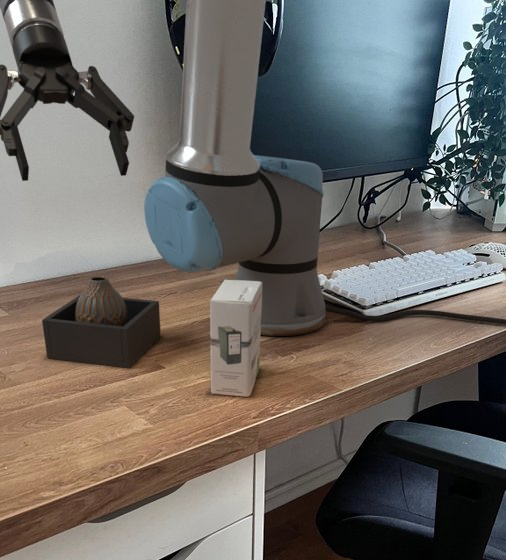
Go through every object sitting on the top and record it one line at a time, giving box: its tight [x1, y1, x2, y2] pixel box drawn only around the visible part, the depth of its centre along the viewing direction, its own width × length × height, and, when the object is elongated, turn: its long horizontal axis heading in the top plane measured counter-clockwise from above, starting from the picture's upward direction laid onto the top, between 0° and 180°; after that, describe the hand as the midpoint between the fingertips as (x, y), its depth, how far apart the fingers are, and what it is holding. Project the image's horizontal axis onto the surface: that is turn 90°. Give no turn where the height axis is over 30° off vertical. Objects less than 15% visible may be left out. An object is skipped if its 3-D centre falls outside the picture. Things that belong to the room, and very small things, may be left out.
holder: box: [41, 294, 162, 369], centre depth 93 cm, size 12×12×5 cm
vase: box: [75, 275, 128, 326], centre depth 92 cm, size 7×7×9 cm
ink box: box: [209, 279, 262, 398], centre depth 83 cm, size 9×5×12 cm, turn 171°
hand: (76, 172), depth 94 cm, fingers open, 13 cm apart
